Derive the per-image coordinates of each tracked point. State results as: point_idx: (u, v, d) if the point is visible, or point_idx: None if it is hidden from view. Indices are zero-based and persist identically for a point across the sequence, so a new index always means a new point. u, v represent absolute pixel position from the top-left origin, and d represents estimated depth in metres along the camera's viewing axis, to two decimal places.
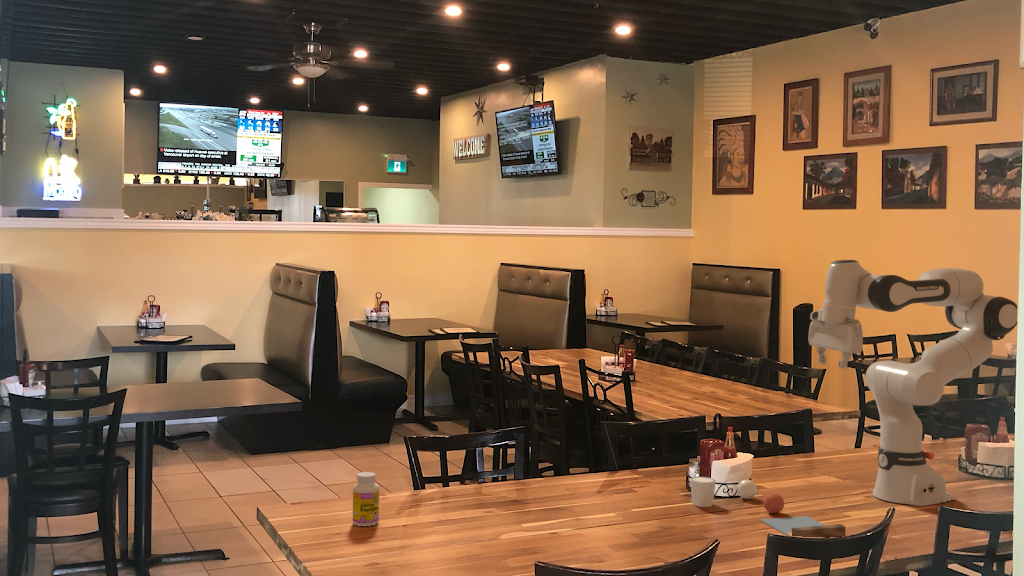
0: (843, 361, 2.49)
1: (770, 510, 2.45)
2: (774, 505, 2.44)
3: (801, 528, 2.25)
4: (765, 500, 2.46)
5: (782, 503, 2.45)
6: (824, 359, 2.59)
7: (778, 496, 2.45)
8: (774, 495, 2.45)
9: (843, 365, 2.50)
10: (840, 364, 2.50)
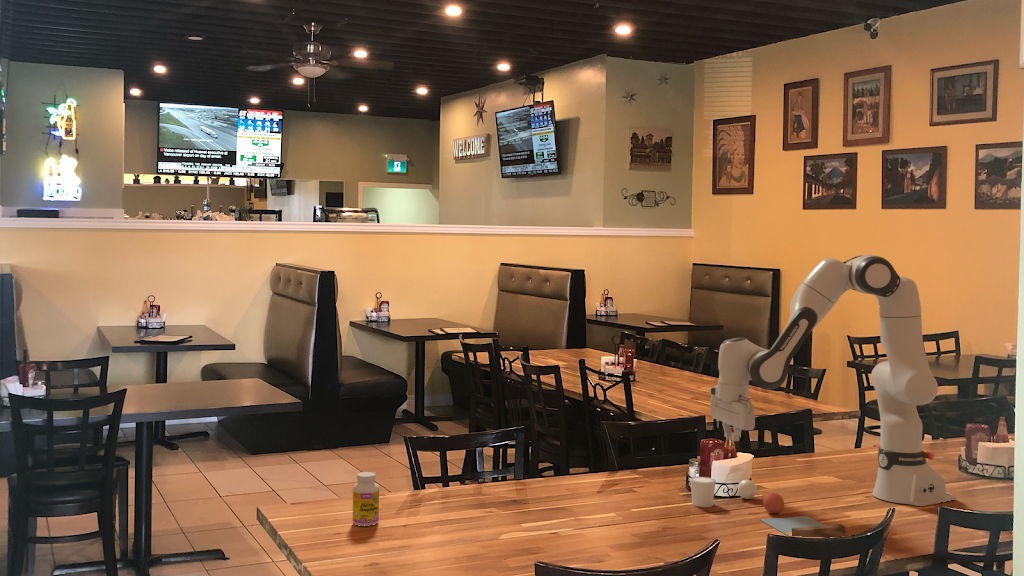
0: (735, 434, 2.65)
1: (770, 510, 2.45)
2: (774, 505, 2.44)
3: (801, 528, 2.25)
4: (765, 500, 2.46)
5: (782, 503, 2.45)
6: (730, 433, 2.70)
7: (778, 496, 2.45)
8: (774, 495, 2.45)
9: (735, 438, 2.66)
10: (733, 437, 2.66)
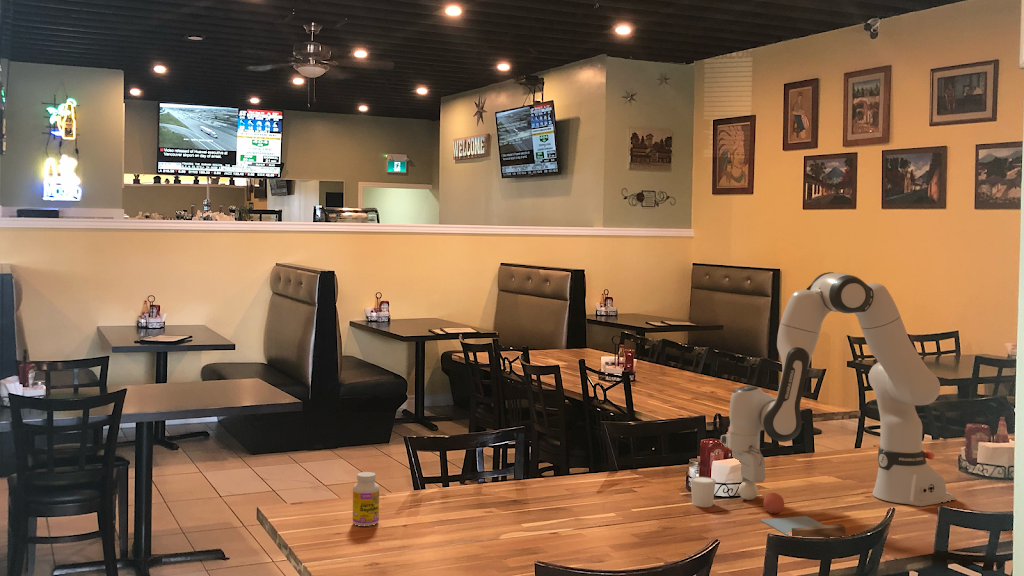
0: None
1: (770, 510, 2.45)
2: (774, 505, 2.44)
3: (801, 528, 2.25)
4: (765, 500, 2.46)
5: (782, 503, 2.45)
6: None
7: (778, 496, 2.45)
8: (774, 495, 2.45)
9: None
10: None
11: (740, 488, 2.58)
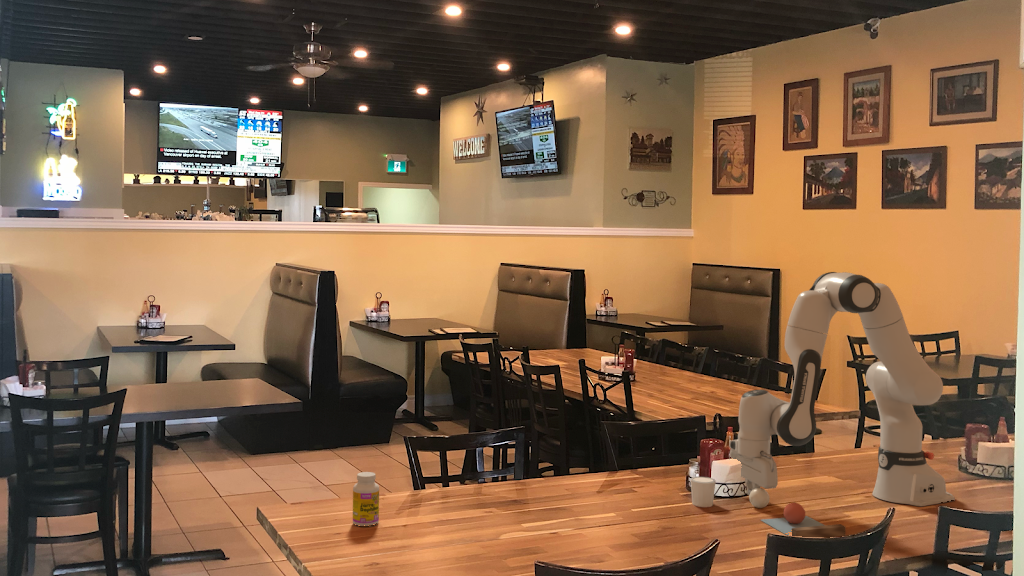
0: None
1: (787, 506, 2.38)
2: None
3: (801, 528, 2.25)
4: (785, 517, 2.37)
5: None
6: None
7: None
8: None
9: None
10: None
11: (751, 502, 2.51)
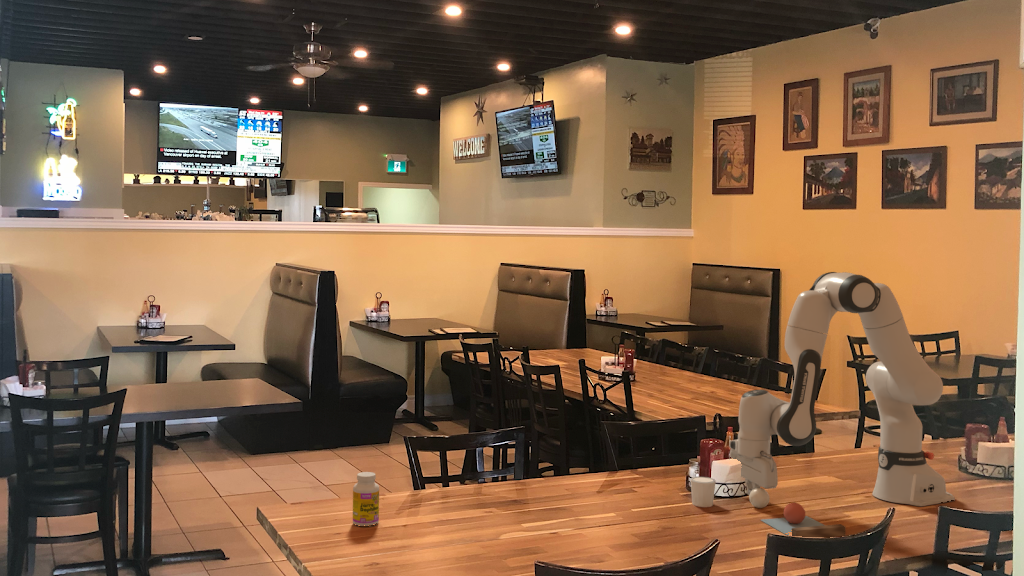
0: None
1: (787, 506, 2.38)
2: None
3: (801, 528, 2.25)
4: (785, 517, 2.37)
5: None
6: None
7: None
8: None
9: None
10: None
11: (751, 502, 2.51)
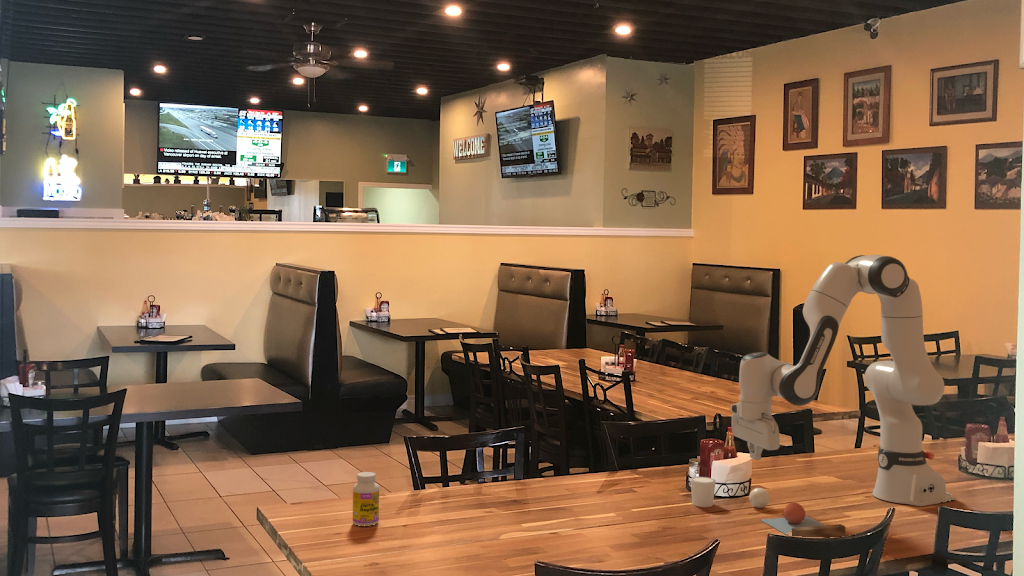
0: (756, 453, 2.55)
1: (787, 506, 2.38)
2: None
3: (801, 528, 2.25)
4: (785, 517, 2.37)
5: None
6: None
7: None
8: None
9: (757, 457, 2.55)
10: (754, 456, 2.56)
11: (751, 502, 2.51)
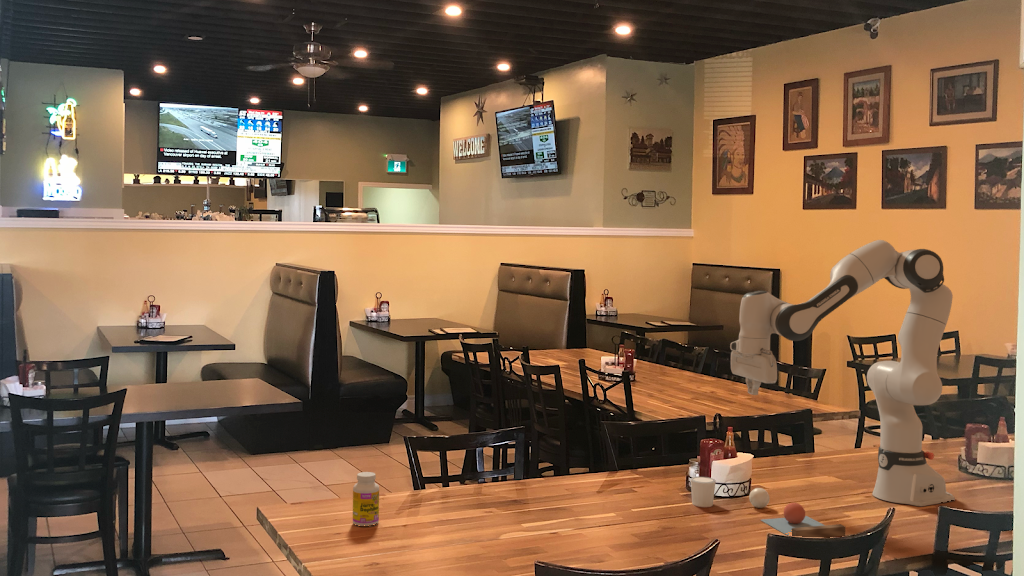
0: (754, 388, 2.63)
1: (787, 506, 2.38)
2: None
3: (801, 528, 2.25)
4: (785, 517, 2.37)
5: None
6: None
7: None
8: None
9: (754, 392, 2.63)
10: (751, 391, 2.63)
11: (751, 502, 2.51)
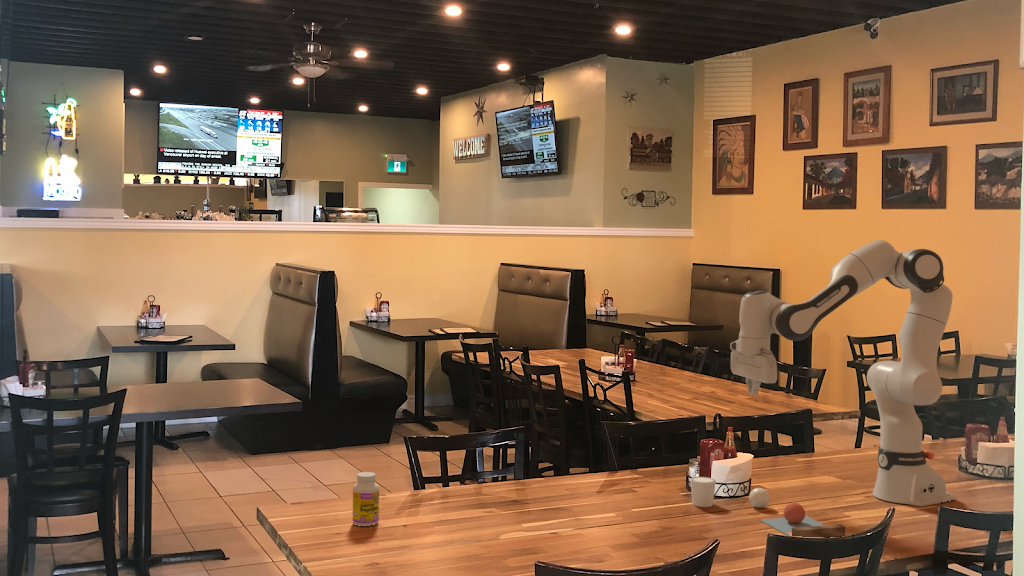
0: (754, 388, 2.63)
1: (787, 506, 2.38)
2: None
3: (801, 528, 2.25)
4: (785, 517, 2.37)
5: None
6: None
7: None
8: None
9: (754, 392, 2.63)
10: (751, 391, 2.63)
11: (751, 502, 2.51)
